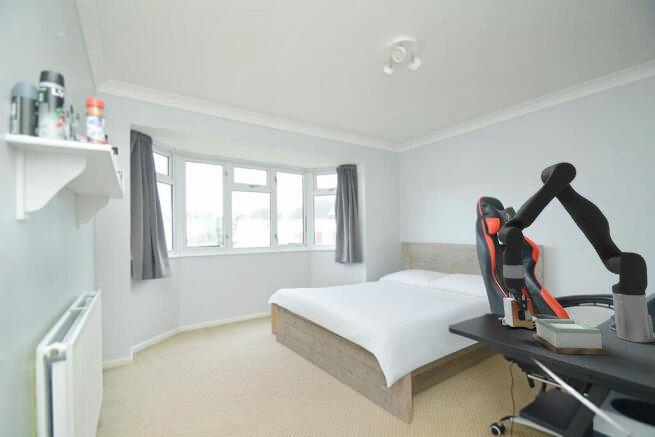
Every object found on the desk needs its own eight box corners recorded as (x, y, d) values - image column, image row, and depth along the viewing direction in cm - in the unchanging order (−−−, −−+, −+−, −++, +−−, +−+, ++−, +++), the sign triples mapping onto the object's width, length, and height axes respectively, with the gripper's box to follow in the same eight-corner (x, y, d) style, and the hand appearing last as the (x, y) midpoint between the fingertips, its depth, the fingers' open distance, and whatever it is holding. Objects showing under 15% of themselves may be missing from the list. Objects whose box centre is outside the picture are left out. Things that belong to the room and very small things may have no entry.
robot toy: (503, 331, 134) (543, 331, 129) (502, 321, 134) (541, 320, 129) (498, 323, 145) (534, 323, 140) (497, 314, 146) (533, 313, 141)
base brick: (577, 335, 118) (575, 319, 118) (602, 348, 104) (600, 330, 105) (537, 334, 120) (535, 319, 121) (556, 347, 107) (554, 329, 107)
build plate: (578, 338, 119) (577, 334, 119) (609, 354, 102) (608, 350, 102) (533, 337, 122) (532, 333, 122) (556, 353, 105) (555, 348, 105)
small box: (513, 327, 118) (510, 300, 119) (505, 323, 124) (502, 297, 125) (533, 326, 118) (531, 299, 119) (525, 322, 124) (522, 296, 124)
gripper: (532, 278, 115) (537, 323, 113) (516, 273, 129) (521, 313, 128) (511, 278, 116) (515, 323, 115) (497, 274, 130) (501, 313, 129)
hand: (518, 318), depth 121 cm, fingers closed on small box, 6 cm apart
